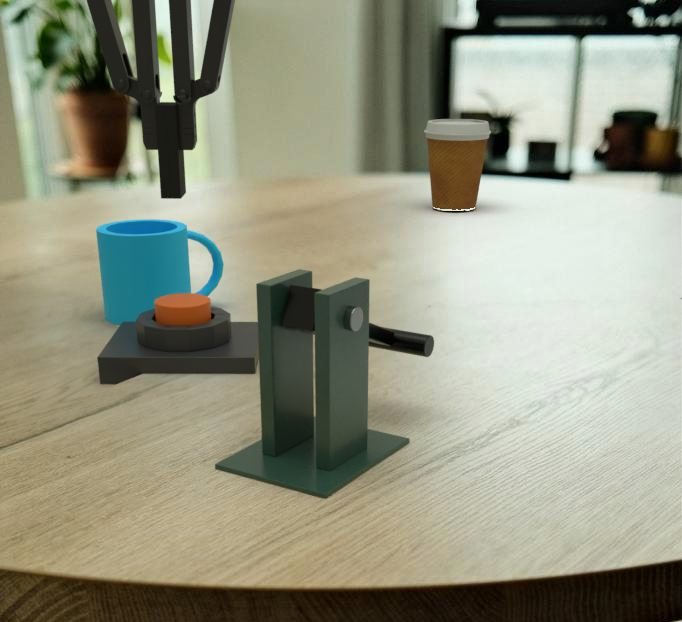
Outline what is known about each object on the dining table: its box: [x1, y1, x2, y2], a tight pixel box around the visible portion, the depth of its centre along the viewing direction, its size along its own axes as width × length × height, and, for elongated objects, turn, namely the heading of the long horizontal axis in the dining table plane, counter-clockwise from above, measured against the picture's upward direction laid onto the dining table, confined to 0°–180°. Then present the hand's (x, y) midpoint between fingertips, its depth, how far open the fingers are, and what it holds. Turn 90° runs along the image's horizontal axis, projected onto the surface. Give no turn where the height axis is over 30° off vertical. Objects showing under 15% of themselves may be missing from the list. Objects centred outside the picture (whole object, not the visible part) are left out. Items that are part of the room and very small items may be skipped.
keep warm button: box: [154, 292, 212, 325], centre depth 81 cm, size 4×4×2 cm
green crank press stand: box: [214, 268, 410, 499], centre depth 61 cm, size 10×8×12 cm
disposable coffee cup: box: [423, 118, 492, 210], centre depth 147 cm, size 10×10×12 cm
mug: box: [95, 218, 224, 326], centre depth 95 cm, size 12×8×8 cm
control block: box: [96, 306, 259, 385], centre depth 82 cm, size 12×10×4 cm
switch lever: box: [282, 285, 435, 358], centre depth 64 cm, size 12×6×2 cm, turn 148°
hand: (173, 195), depth 77 cm, fingers closed
